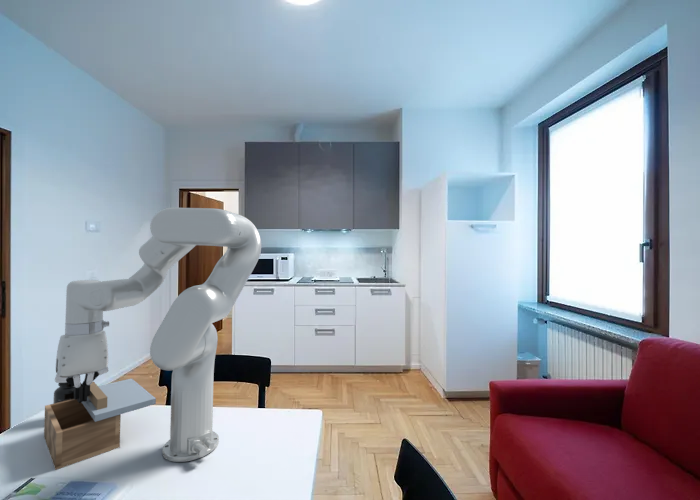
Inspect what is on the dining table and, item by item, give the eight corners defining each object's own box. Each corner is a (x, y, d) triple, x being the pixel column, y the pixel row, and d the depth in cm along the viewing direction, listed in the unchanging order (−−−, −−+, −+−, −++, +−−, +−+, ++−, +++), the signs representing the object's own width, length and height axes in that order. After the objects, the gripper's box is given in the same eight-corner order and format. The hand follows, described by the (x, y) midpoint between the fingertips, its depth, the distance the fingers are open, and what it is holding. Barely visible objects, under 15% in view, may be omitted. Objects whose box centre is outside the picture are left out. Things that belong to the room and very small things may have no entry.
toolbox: (119, 447, 82) (120, 414, 82) (55, 470, 73) (56, 433, 73) (100, 420, 95) (101, 392, 95) (43, 436, 86) (44, 405, 86)
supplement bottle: (89, 414, 99) (90, 373, 99) (66, 425, 92) (67, 382, 92) (70, 412, 100) (72, 372, 100) (46, 423, 93) (47, 380, 94)
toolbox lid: (155, 404, 88) (156, 388, 88) (94, 421, 78) (95, 404, 78) (131, 383, 102) (131, 370, 102) (77, 396, 92) (77, 381, 92)
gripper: (114, 322, 93) (112, 388, 92) (42, 330, 82) (39, 405, 81) (122, 326, 88) (120, 395, 87) (47, 335, 77) (44, 415, 76)
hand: (81, 400), depth 84 cm, fingers closed
